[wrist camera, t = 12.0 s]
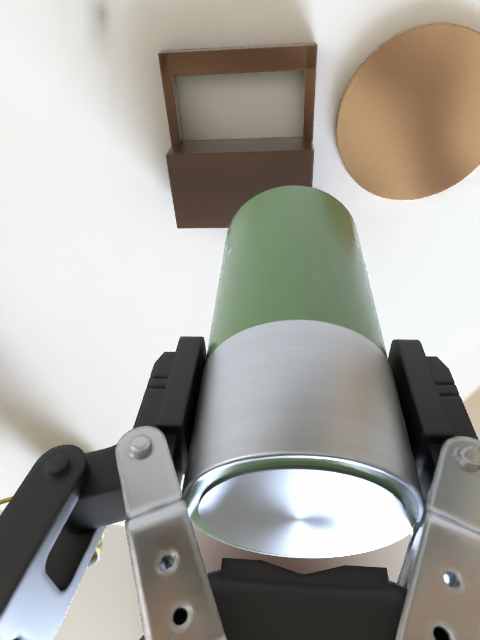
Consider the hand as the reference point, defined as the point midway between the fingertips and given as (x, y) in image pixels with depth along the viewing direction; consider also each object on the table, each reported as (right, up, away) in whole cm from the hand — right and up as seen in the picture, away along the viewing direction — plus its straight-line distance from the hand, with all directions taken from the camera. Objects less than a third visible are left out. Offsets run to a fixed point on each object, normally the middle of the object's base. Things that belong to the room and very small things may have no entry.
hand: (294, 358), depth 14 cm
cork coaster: (+9, +14, +13) cm, 21 cm away
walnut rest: (-2, +13, +14) cm, 19 cm away
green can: (0, 0, +1) cm, 1 cm away
